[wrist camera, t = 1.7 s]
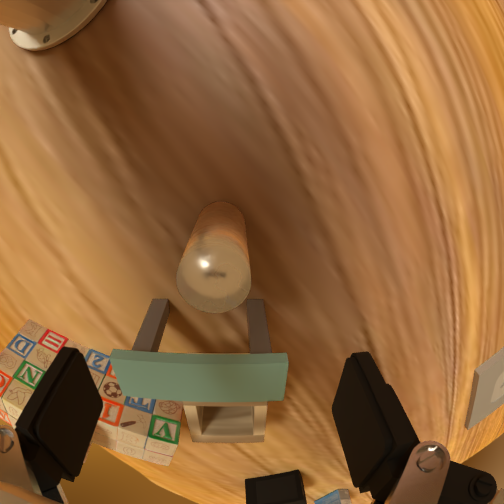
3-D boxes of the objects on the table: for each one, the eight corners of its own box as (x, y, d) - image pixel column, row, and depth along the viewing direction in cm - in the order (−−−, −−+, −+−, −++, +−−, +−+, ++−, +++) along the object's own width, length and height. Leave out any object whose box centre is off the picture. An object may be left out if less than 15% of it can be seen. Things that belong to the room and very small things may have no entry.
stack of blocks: (188, 380, 32) (177, 471, 21) (177, 408, 34) (166, 489, 23) (28, 317, 28) (-23, 383, 16) (32, 351, 30) (-8, 415, 19)
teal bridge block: (143, 287, 27) (109, 358, 17) (271, 287, 27) (288, 362, 18) (149, 321, 28) (123, 395, 19) (269, 322, 29) (283, 400, 20)
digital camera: (252, 487, 46) (254, 515, 39) (244, 478, 44) (246, 509, 37) (302, 478, 45) (308, 506, 39) (298, 469, 43) (303, 499, 37)
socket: (187, 352, 30) (180, 394, 24) (263, 352, 30) (268, 394, 25) (196, 403, 33) (192, 442, 28) (260, 403, 34) (263, 442, 28)
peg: (196, 201, 24) (172, 246, 15) (245, 201, 24) (252, 246, 15) (198, 247, 26) (179, 312, 16) (244, 246, 26) (250, 313, 17)
